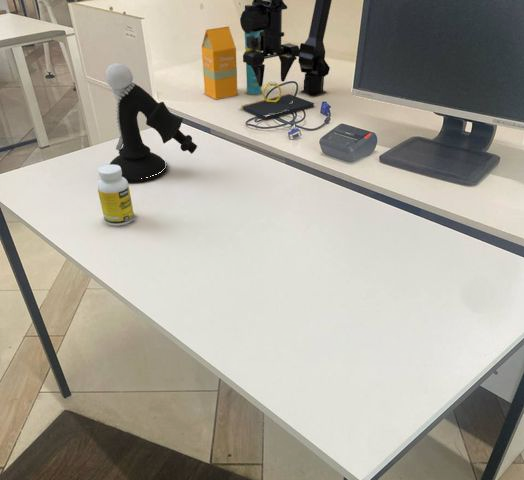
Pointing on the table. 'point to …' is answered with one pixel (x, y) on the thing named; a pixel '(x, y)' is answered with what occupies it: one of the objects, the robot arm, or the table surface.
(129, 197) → the pill bottle
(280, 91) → the watch
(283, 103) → the dark rectangular board
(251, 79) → the tube
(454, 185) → the table surface
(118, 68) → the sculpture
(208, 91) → the orange juice
